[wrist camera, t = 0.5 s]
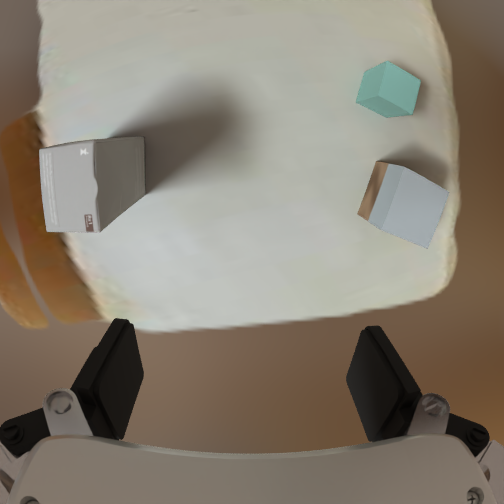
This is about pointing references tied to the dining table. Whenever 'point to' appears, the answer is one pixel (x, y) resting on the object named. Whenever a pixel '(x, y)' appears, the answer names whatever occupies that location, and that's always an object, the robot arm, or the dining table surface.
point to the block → (388, 90)
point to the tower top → (408, 205)
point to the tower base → (372, 189)
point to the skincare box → (90, 182)
